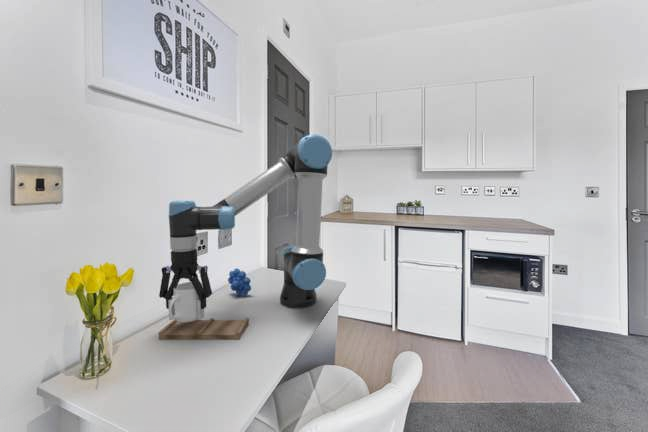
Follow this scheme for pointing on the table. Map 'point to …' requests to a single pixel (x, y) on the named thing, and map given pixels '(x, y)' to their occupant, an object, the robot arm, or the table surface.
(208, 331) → the ledge board
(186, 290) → the mug
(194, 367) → the table surface
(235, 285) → the grapes
